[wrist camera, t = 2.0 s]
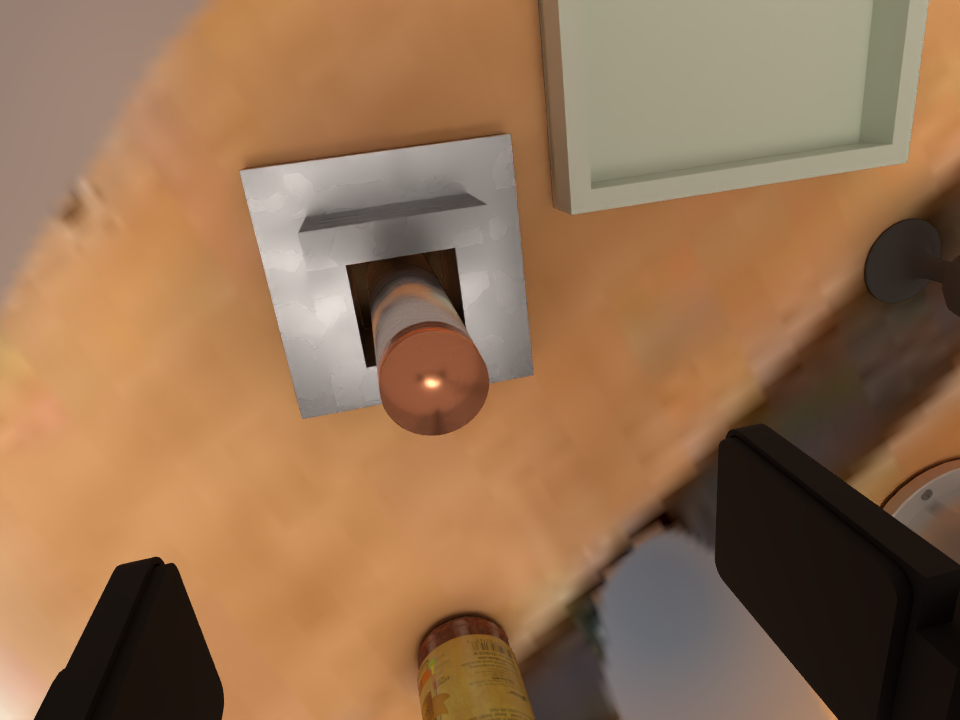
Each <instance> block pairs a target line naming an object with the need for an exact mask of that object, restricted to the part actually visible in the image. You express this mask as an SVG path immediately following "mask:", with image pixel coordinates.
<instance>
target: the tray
mask: <svg viewBox="0 0 960 720" xmlns="http://www.w3.org/2000/svg"><path fill="white" fill-rule="evenodd" d="M928 3H929V0H538V4H539V17H540V31H541V44H542V58H543V71H544V85H545V99H546V112H547V126H548V139H549V153H550V166H551V180H552V194H553V207H554V208H556V209H558V210H561V211H563V212H566V213H568V214H571V215H574V214H581V213H587V212H594V211H600V210H606V209H613V208H619V207H626V206H632V205H639V204H645V203H651V202H658V201H664V200H671V199H677V198H683V197H690V196H696V195H703V194H709V193H715V192H722V191H728V190H735V189H741V188H748V187H754V186H760V185H767V184H773V183H780V182H786V181H792V180H799V179H805V178H812V177H818V176H825V175H831V174H837V173H844V172H850V171H857V170H863V169H869V168H876V167H882V166H889V165H895V164H902V163H907V162H908V155H909V147H910V140H911V132H912V124H913V117H914V109H915V102H916V94H917V86H918V79H919V71H920V64H921V56H922V48H923V41H924V33H925V26H926V18H927V10H928Z"/></svg>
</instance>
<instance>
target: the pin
mask: <svg viewBox="0 0 960 720" xmlns="http://www.w3.org/2000/svg"><path fill="white" fill-rule="evenodd" d="M367 285H368V294H369V303H370V312H371V321H372V329H373V338H374V347H375V356H376V365H377V374H378V382H379V391H380V398H381V401H382V404H383V406H384V409H385V410H386V412H387V414H388V415H389V416H390V417H391V419H392V420H393V421H394V422H395V423H397V424H398V425H399V426H401V427H402V428H404V429H406V430H408V431H410V432H413V433H416V434H421V435H442V434H446V433H450V432H452V431H455V430H457V429H459V428H461V427H463V426H464V425H466V424H467V423H468V422H470V421H471V420H472V419H473V418H474V417H475V416H476V415H477V414H478V412H479V411H480V409H481V408H482V406H483V404H484V402H485V400H486V397H487V394H488V389H489V375H488V370H487V367H486V364H485V362H484V360H483V358H482V356H481V354H480V353H479V351H478V349H477V347H476V346H475V344H474V342H473V340H472V339H471V337H470V335H469V333H468V331H467V330H466V328H465V326H464V324H463V323H462V321H461V319H460V317H459V316H458V314H457V312H456V310H455V309H454V307H453V305H452V303H451V302H450V300H449V298H448V296H447V295H446V293H445V291H444V289H443V288H442V286H441V284H440V282H439V281H438V279H437V277H436V275H435V274H434V272H433V270H432V268H431V266H430V265H429V263H428V261H427V259H426V258H425V257H424V255H423V254H422V253H419V254H413V255H407V256H401V257H394V258H388V259H382V260H375V261H370V263H369V265H368V268H367Z"/></svg>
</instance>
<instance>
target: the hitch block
mask: <svg viewBox="0 0 960 720" xmlns="http://www.w3.org/2000/svg"><path fill="white" fill-rule="evenodd" d="M239 172H240V176H241V180H242V184H243V188H244V192H245V196H246V200H247V203H248V207H249V211H250V215H251V219H252V223H253V227H254V231H255V235H256V239H257V243H258V247H259V251H260V255H261V259H262V263H263V267H264V270H265V274H266V278H267V282H268V286H269V290H270V294H271V298H272V302H273V306H274V310H275V314H276V318H277V322H278V326H279V330H280V334H281V338H282V341H283V345H284V349H285V353H286V357H287V361H288V365H289V369H290V373H291V377H292V381H293V385H294V389H295V393H296V397H297V401H298V405H299V408H300V412H301V416H302V419H306V418H311V417H316V416H321V415H327V414H332V413H337V412H342V411H348V410H353V409H358V408H363V407H369V406H374V405H379V404H382V401H381V398H380V391H379V382H378V374H377V365H376V356H375V347H374V338H373V329H372V324H369V325H363V321H362V316H361V311H360V306H359V301H358V296H357V291H356V286H355V281H354V276H353V271H352V266H351V264H357V263H363V262H369V261H375V260H382V259H388V258H394V257H401V256H407V255H413V254H419V253H426V252H432V251H438V250H440V255H441V262H442V269H443V276H444V283H445V290H446V295H447V296H448V298H449V300H450V302H451V303H452V305H453V307H454V309H455V310H456V312H457V314H458V316H459V317H460V319H461V321H462V323H463V324H464V326H465V328H466V330H467V331H468V333H469V335H470V337H471V339H472V340H473V342H474V344H475V346H476V347H477V349H478V351H479V353H480V354H481V356H482V358H483V360H484V362H485V364H486V367H487V370H488V375H489V383H494V382H500V381H505V380H510V379H515V378H521V377H526V376H531V375H534V374H533V363H532V353H531V342H530V332H529V321H528V311H527V300H526V290H525V279H524V269H523V258H522V247H521V237H520V226H519V216H518V205H517V195H516V184H515V174H514V163H513V153H512V142H511V134H504V133H503V134H496V135H488V136H481V137H474V138H466V139H459V140H451V141H444V142H437V143H429V144H422V145H414V146H407V147H400V148H392V149H385V150H377V151H370V152H363V153H355V154H348V155H340V156H333V157H326V158H318V159H311V160H303V161H296V162H289V163H281V164H274V165H267V166H259V167H252V168H245V169H242V170H240V171H239Z"/></svg>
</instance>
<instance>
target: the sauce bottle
mask: <svg viewBox="0 0 960 720" xmlns="http://www.w3.org/2000/svg"><path fill="white" fill-rule="evenodd" d="M418 670H419V672H418V679H417V682H418V689H419V696H420V704H421V711H422V718H423V720H535V717H534V714H533V710H532V707H531V704H530V701H529V698H528V695H527V692H526V689H525V686H524V683H523V680H522V677H521V674H520V671H519V667H518V664H517V661H516V658H515V655H514V653H513V652H512V649H511V648H510V647H509V643H508V638H507V636H506V634H505V633H504V631H502V629H501V628H500V627H499V626H498V625H496V624H495V623H493V622H490V621H488V620H486V619H485V618H481V617H475V616H474V617H468V616H464V617H460V618H457V619H452V620H451V621H448V622H446V623H444V624H442V625H440V626H438V627H437V628H435V629H434V630H432V631H431V632H430V633H429V635H428V636H427V637H426V638H425V640H424V642H423V643H422V645H421V648H420V651H419V657H418Z"/></svg>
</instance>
